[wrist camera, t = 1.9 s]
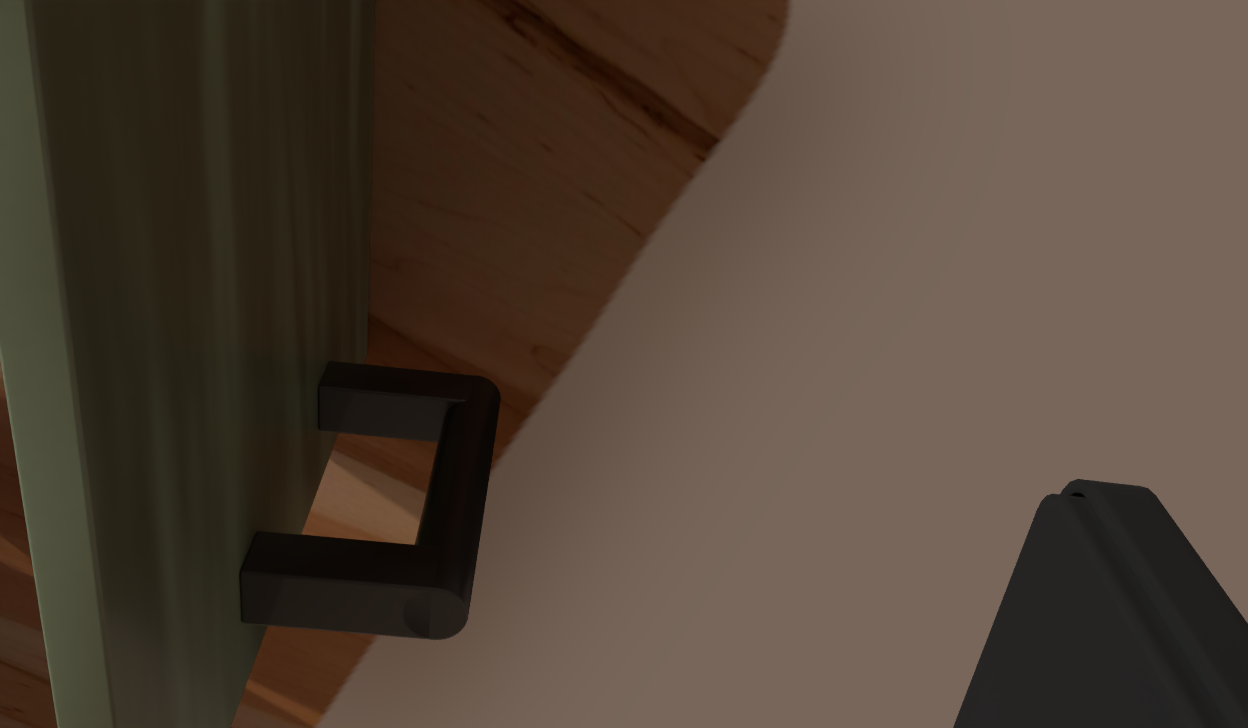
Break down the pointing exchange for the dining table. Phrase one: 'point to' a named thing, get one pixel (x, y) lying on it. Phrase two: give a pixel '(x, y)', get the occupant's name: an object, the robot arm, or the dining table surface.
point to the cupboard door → (206, 349)
